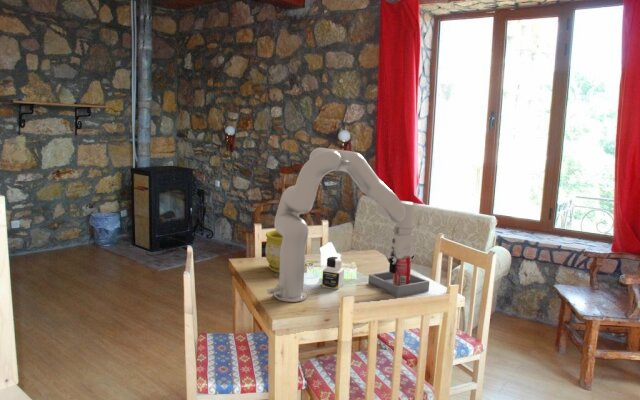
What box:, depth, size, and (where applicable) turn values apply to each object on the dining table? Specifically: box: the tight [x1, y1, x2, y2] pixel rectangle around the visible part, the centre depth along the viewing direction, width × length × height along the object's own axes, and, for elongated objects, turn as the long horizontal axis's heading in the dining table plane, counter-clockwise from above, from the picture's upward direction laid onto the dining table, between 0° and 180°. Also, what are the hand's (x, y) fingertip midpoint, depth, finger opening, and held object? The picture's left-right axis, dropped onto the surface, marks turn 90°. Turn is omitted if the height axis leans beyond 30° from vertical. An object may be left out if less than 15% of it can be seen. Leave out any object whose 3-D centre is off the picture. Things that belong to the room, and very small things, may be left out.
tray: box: [367, 271, 430, 298], centre depth 218 cm, size 18×18×4 cm
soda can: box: [393, 256, 412, 286], centre depth 217 cm, size 7×7×13 cm
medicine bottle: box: [321, 256, 345, 290], centre depth 214 cm, size 7×7×12 cm
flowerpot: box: [264, 229, 283, 274], centre depth 232 cm, size 18×18×16 cm
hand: (399, 271), depth 217 cm, fingers open, 7 cm apart
